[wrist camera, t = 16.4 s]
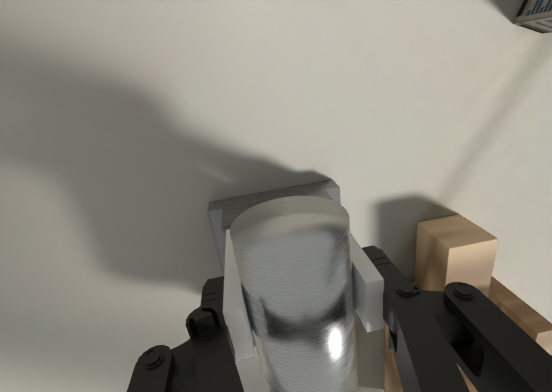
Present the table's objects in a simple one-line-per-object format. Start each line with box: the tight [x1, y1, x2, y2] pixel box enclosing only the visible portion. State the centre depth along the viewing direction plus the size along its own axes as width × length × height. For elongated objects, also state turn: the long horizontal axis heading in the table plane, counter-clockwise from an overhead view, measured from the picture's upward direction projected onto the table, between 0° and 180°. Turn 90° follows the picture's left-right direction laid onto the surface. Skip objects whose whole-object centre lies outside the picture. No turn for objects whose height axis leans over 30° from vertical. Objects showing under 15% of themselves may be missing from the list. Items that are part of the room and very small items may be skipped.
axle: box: [230, 196, 359, 392], centre depth 15 cm, size 13×5×5 cm, turn 8°
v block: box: [208, 180, 341, 346], centre depth 22 cm, size 10×9×4 cm
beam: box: [384, 214, 552, 392], centre depth 25 cm, size 20×9×7 cm, turn 8°
